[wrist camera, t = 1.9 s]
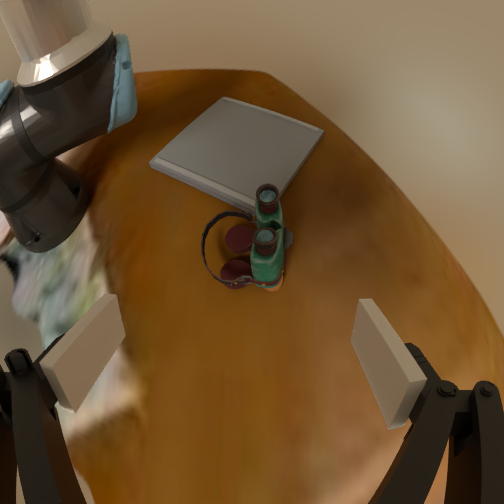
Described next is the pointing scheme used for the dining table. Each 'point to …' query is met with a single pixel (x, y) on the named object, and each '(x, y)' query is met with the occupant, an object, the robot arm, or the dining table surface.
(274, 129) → the slate board
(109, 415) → the dining table surface
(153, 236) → the dining table surface
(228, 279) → the binoculars
